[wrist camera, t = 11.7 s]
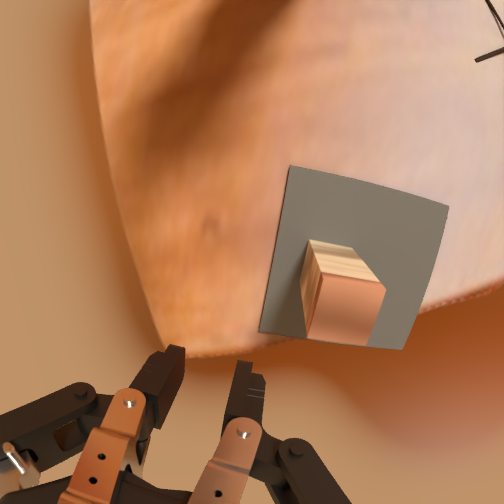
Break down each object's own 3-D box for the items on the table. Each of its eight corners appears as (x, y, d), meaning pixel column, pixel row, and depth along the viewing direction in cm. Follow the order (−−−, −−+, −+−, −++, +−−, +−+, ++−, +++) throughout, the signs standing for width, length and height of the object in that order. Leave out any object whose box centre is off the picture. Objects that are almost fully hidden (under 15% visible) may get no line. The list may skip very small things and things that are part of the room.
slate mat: (290, 165, 30) (290, 165, 30) (446, 205, 29) (449, 206, 29) (259, 328, 36) (259, 331, 35) (400, 347, 35) (401, 349, 34)
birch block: (308, 239, 32) (323, 278, 20) (351, 247, 31) (386, 289, 20) (299, 281, 33) (307, 338, 21) (340, 288, 33) (365, 345, 21)
